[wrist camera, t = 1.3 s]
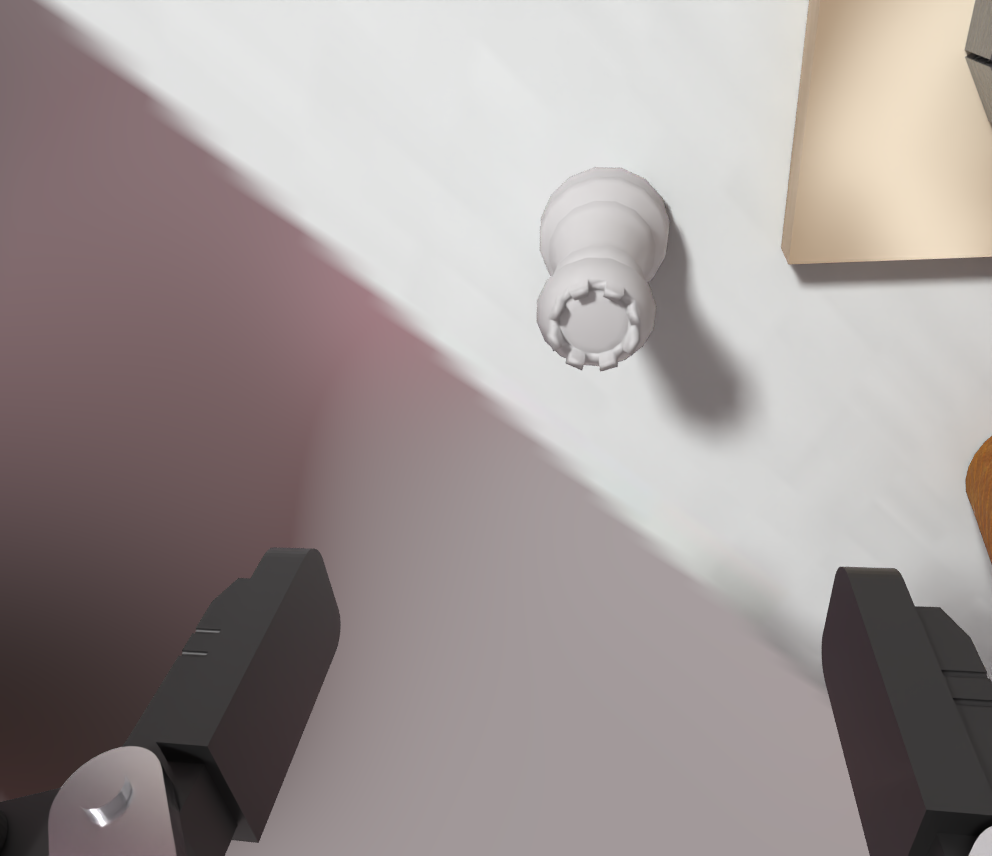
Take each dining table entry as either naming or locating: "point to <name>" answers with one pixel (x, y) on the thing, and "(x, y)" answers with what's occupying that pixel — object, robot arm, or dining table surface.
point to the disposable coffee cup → (982, 491)
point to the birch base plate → (888, 137)
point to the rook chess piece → (600, 266)
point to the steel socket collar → (981, 52)
